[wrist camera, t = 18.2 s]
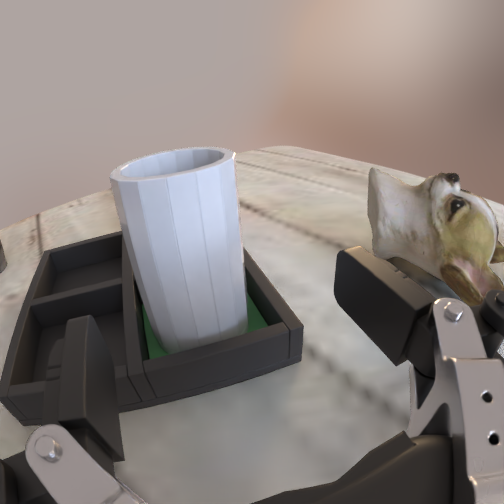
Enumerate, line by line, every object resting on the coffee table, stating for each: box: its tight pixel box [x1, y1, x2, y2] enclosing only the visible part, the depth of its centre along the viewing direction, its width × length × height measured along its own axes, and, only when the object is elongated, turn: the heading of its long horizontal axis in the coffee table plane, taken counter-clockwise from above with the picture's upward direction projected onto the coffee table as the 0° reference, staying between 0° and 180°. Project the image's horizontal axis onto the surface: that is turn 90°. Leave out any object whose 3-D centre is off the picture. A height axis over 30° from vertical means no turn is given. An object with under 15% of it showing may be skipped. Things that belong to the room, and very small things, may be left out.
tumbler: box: [110, 147, 249, 354], centre depth 16 cm, size 6×6×10 cm
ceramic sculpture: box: [368, 168, 504, 306], centre depth 21 cm, size 11×9×15 cm
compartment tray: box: [0, 231, 304, 426], centre depth 21 cm, size 17×17×3 cm
